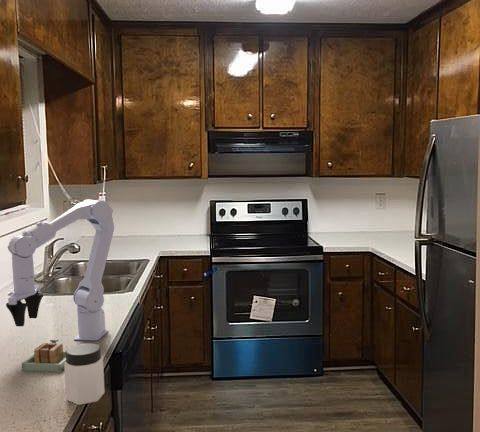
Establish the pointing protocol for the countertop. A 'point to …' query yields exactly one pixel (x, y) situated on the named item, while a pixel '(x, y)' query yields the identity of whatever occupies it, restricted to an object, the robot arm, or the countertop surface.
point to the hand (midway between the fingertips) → (26, 321)
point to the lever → (53, 340)
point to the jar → (84, 373)
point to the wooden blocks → (48, 353)
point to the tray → (43, 365)
